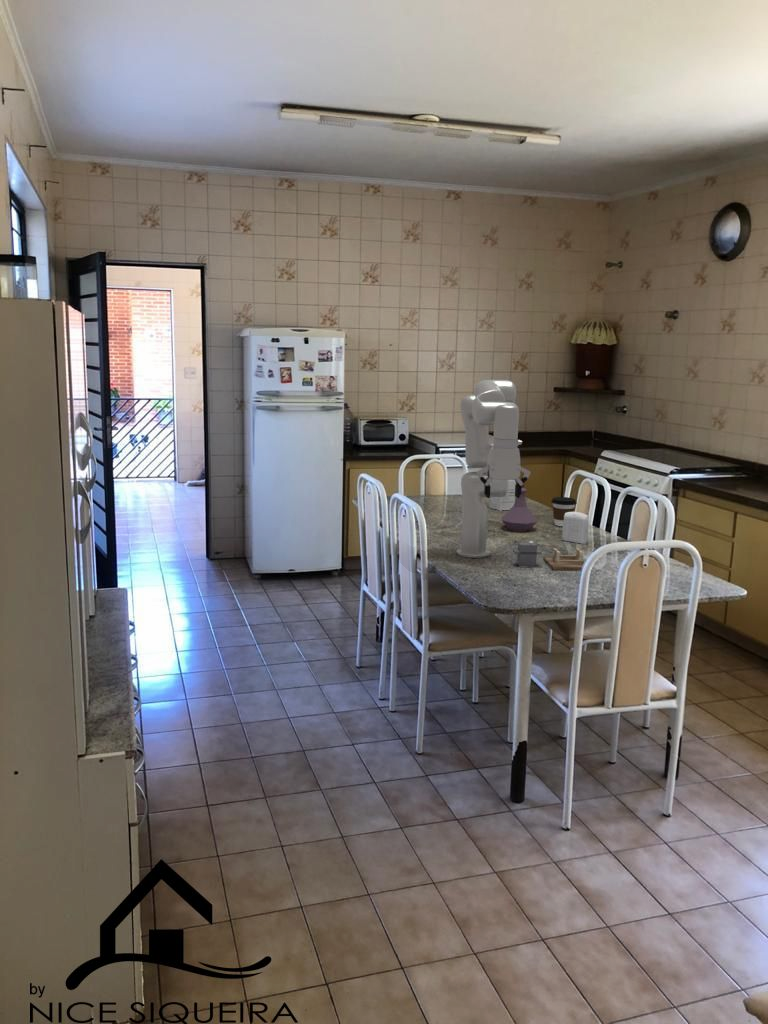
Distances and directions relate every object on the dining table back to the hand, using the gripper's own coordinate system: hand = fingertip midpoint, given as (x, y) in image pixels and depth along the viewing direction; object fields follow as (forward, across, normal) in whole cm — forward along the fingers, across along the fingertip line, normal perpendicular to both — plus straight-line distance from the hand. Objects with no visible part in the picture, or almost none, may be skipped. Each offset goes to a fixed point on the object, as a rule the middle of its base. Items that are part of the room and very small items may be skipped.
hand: (502, 497), depth 260 cm
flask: (+31, -31, -84) cm, 95 cm away
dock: (+31, -33, -27) cm, 52 cm away
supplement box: (+31, -35, -126) cm, 134 cm away
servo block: (+31, -18, -28) cm, 45 cm away
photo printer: (+31, -48, -61) cm, 83 cm away
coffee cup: (+31, -53, -90) cm, 108 cm away
